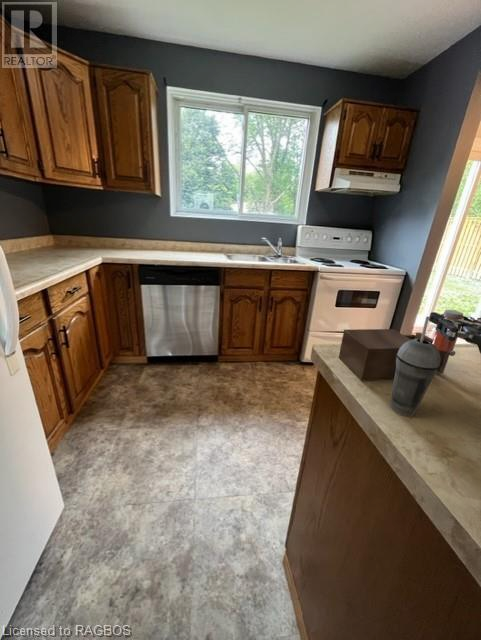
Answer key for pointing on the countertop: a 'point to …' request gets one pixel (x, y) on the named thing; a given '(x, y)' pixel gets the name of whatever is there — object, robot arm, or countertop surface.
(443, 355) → the dark brown angular piece
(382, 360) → the dark brown wooden box
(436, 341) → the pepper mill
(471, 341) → the robot arm
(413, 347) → the beverage cup
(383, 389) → the countertop surface
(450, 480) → the countertop surface
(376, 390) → the countertop surface
